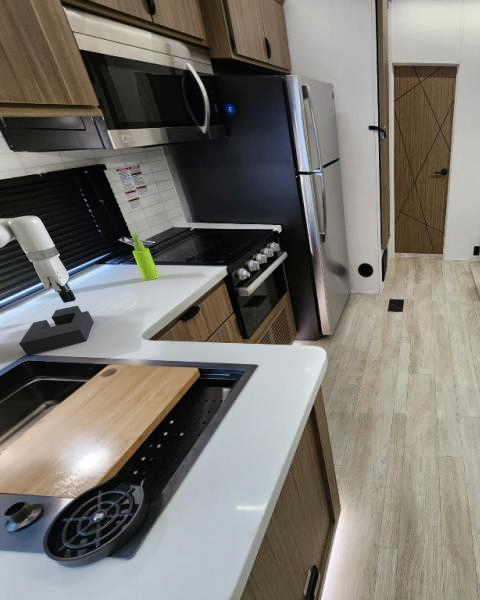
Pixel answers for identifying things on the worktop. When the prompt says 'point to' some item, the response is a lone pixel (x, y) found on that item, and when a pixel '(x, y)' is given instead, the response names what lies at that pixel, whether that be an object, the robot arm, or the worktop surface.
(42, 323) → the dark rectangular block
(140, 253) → the soap dispenser
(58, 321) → the dark grey squat block
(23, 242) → the robot arm
